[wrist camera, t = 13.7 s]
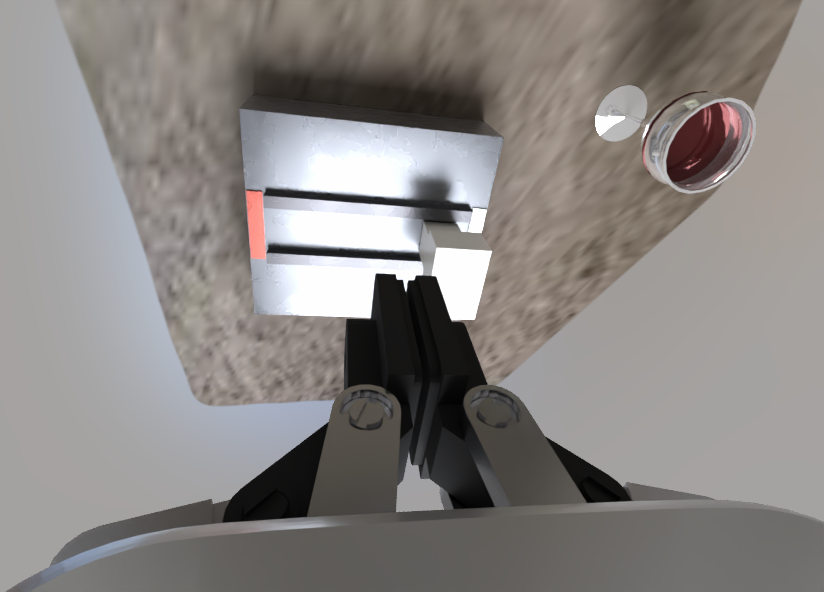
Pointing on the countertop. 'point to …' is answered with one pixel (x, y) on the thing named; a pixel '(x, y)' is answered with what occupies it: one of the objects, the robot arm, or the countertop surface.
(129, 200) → the countertop surface
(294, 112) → the slider base
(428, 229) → the handle
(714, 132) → the wineglass
